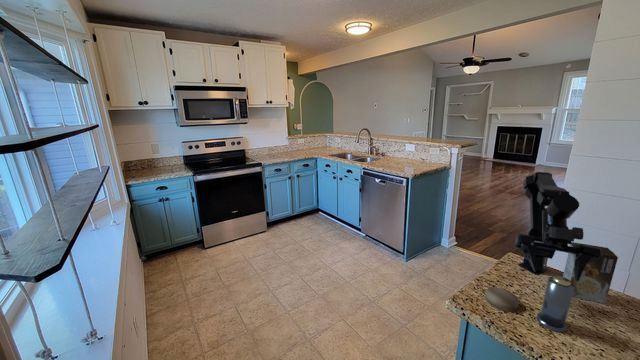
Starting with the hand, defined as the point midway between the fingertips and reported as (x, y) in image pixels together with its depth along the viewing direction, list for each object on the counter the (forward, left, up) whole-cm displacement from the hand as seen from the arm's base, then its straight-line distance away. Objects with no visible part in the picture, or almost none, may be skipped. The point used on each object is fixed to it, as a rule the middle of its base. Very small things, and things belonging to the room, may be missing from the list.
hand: (555, 276), depth 75 cm
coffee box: (-18, -1, -12) cm, 22 cm away
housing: (+4, +4, -12) cm, 13 cm away
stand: (+9, -7, -12) cm, 17 cm away
